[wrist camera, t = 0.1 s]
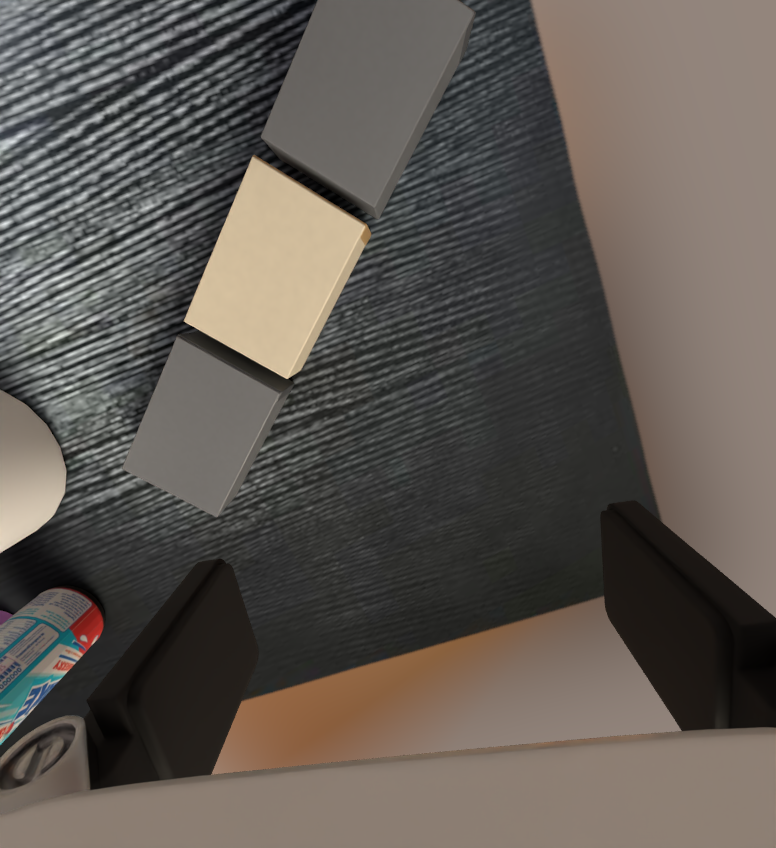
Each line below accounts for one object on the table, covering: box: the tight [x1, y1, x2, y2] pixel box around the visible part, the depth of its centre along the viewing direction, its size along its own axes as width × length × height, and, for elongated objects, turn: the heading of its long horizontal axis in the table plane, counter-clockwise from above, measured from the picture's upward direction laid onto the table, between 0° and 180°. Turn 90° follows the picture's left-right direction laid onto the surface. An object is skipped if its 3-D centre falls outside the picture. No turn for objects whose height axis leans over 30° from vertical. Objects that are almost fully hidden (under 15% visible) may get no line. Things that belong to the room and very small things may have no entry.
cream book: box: [184, 155, 371, 379], centre depth 26 cm, size 10×7×4 cm
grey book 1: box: [122, 331, 295, 517], centre depth 29 cm, size 10×7×4 cm
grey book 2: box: [261, 0, 475, 219], centre depth 23 cm, size 10×7×4 cm
